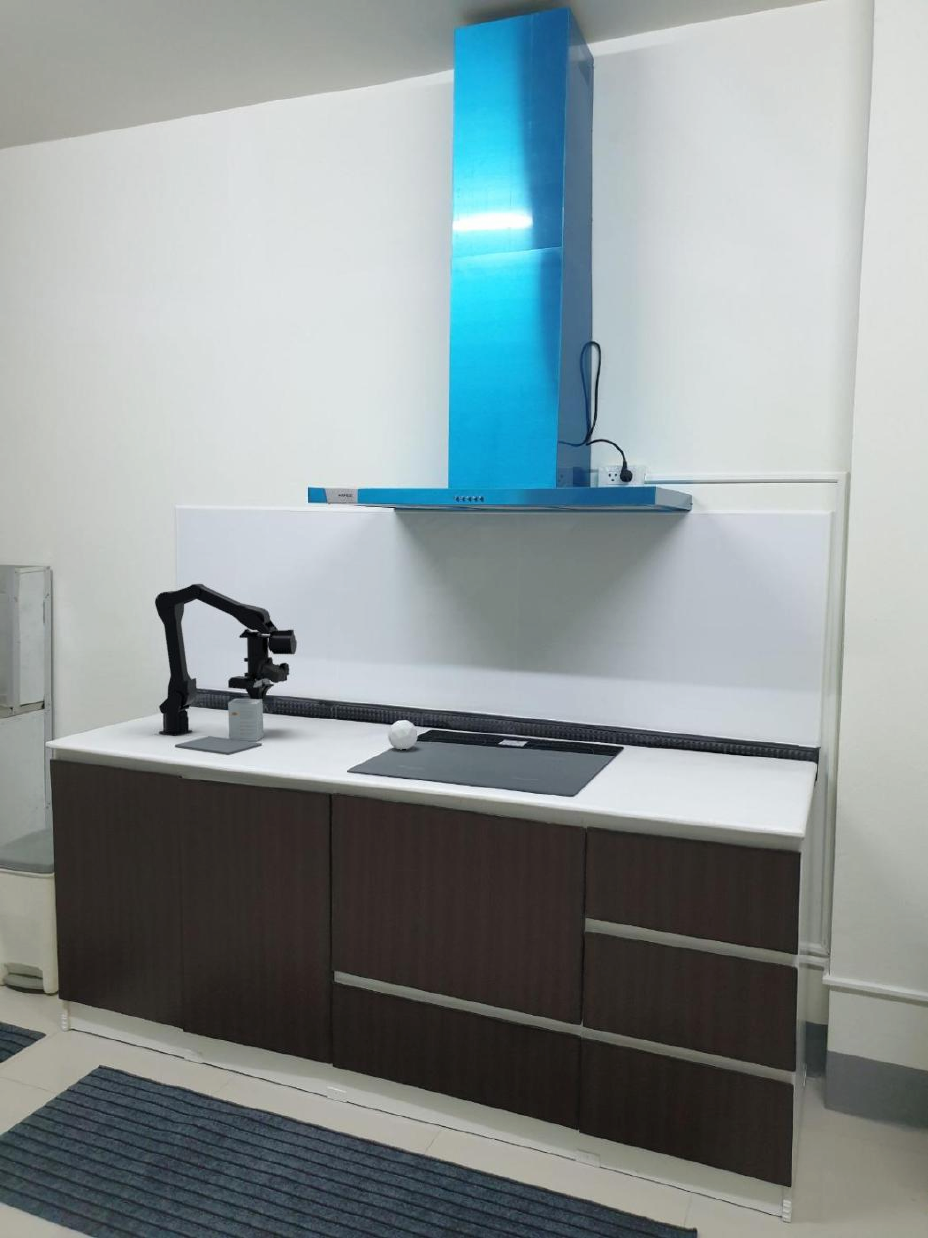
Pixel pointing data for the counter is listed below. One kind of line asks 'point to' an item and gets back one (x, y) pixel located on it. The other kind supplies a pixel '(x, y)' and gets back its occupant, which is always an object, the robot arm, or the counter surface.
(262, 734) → the small box
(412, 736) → the ball
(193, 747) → the mat
